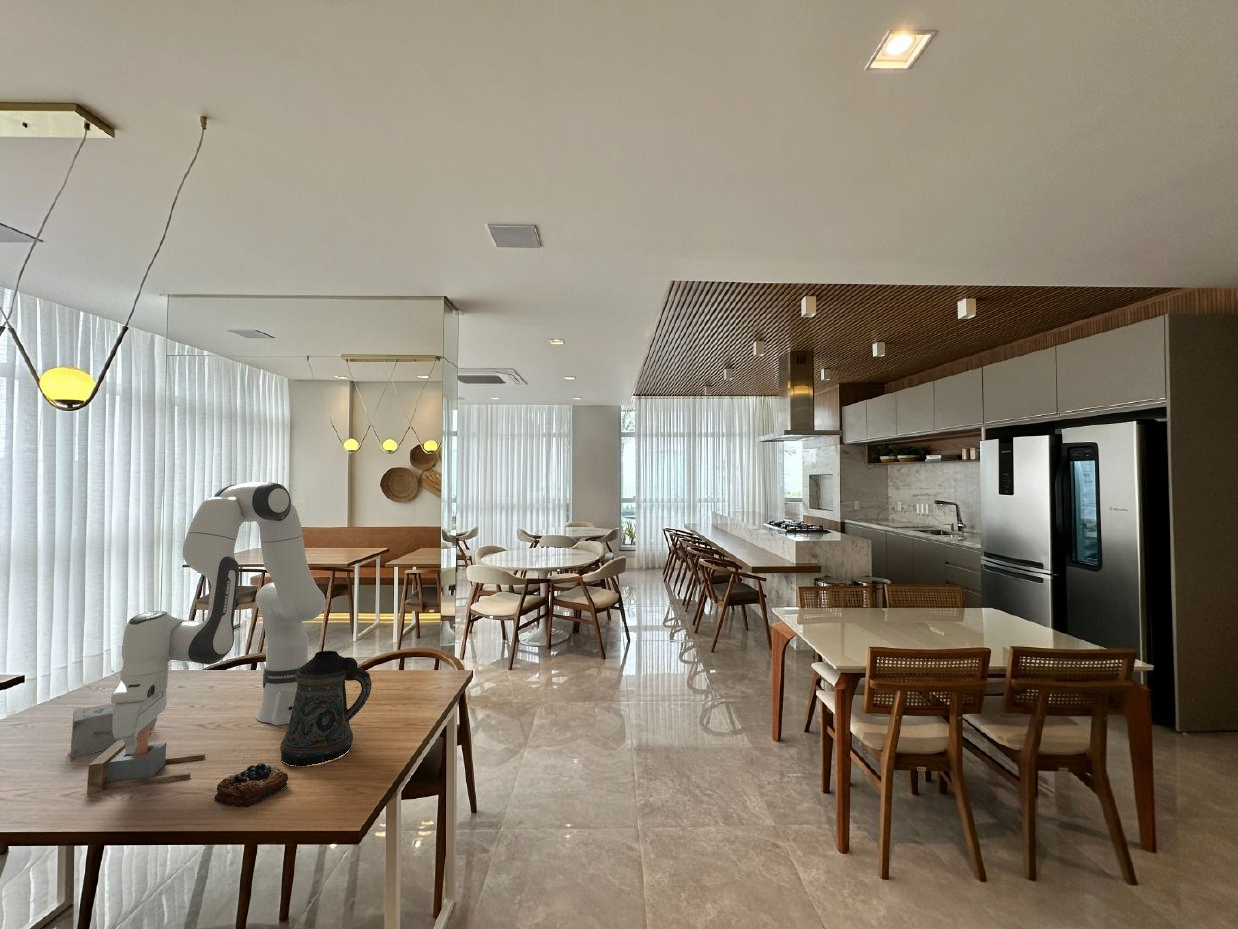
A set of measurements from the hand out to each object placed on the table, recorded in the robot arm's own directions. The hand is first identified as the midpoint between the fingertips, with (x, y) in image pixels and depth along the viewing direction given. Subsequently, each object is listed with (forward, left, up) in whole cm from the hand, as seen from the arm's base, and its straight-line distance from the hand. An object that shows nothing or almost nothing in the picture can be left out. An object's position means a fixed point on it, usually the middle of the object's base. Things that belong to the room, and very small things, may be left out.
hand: (140, 744), depth 136 cm
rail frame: (-2, 0, -7) cm, 7 cm away
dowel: (0, 0, -7) cm, 7 cm away
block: (0, 0, -7) cm, 7 cm away
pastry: (-26, +18, -7) cm, 33 cm away
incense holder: (+15, -20, -7) cm, 26 cm away
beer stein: (-39, 0, -7) cm, 39 cm away
